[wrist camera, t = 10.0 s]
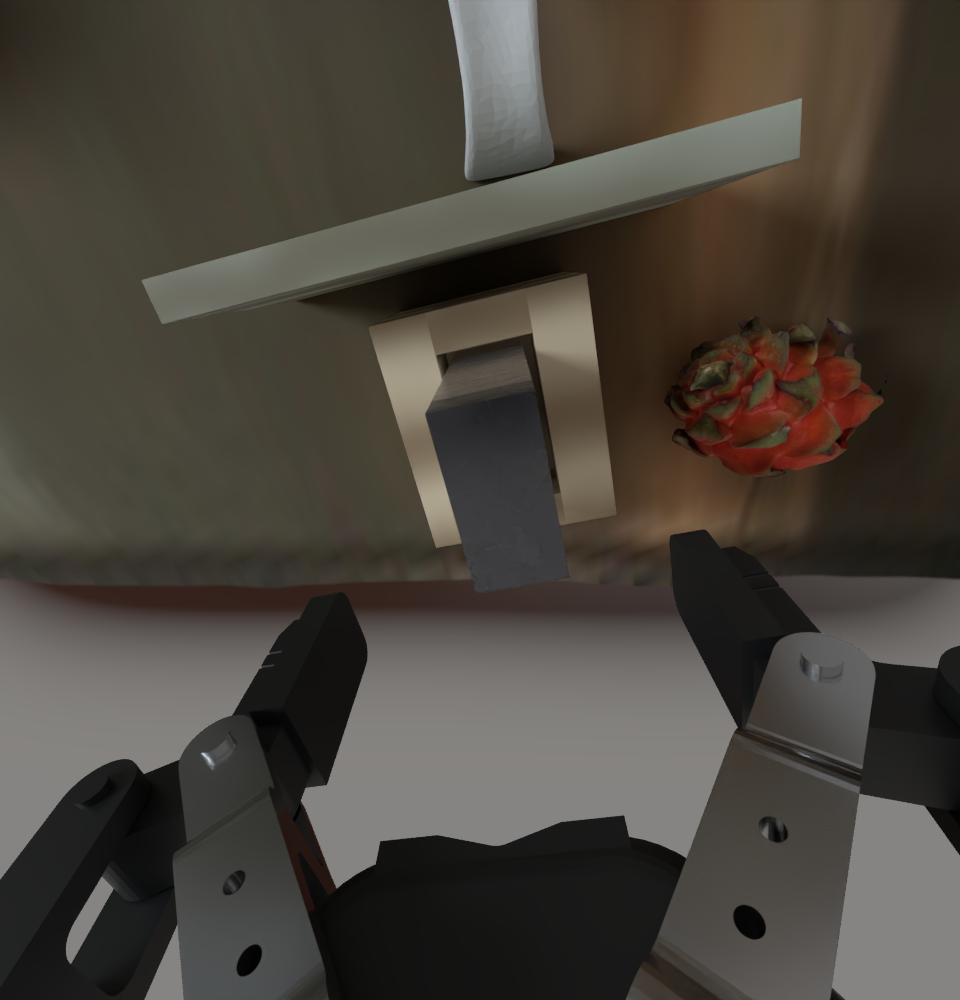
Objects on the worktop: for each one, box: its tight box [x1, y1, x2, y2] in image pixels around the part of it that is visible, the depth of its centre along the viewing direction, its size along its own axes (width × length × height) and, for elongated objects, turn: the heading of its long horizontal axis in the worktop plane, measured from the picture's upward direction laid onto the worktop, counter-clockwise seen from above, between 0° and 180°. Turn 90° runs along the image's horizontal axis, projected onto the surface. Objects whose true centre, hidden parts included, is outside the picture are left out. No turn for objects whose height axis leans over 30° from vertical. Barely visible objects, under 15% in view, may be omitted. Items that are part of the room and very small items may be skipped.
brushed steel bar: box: [425, 338, 570, 593], centre depth 22 cm, size 7×4×12 cm, turn 13°
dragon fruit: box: [664, 316, 888, 477], centre depth 28 cm, size 8×8×12 cm
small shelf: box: [141, 98, 802, 548], centre depth 25 cm, size 16×22×13 cm
